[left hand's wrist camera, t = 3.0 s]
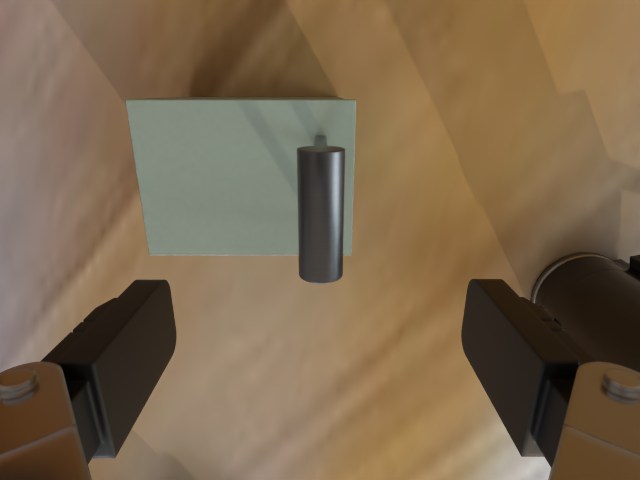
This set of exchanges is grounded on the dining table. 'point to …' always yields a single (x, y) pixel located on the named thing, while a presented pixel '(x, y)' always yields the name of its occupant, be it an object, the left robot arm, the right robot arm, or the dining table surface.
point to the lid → (248, 178)
